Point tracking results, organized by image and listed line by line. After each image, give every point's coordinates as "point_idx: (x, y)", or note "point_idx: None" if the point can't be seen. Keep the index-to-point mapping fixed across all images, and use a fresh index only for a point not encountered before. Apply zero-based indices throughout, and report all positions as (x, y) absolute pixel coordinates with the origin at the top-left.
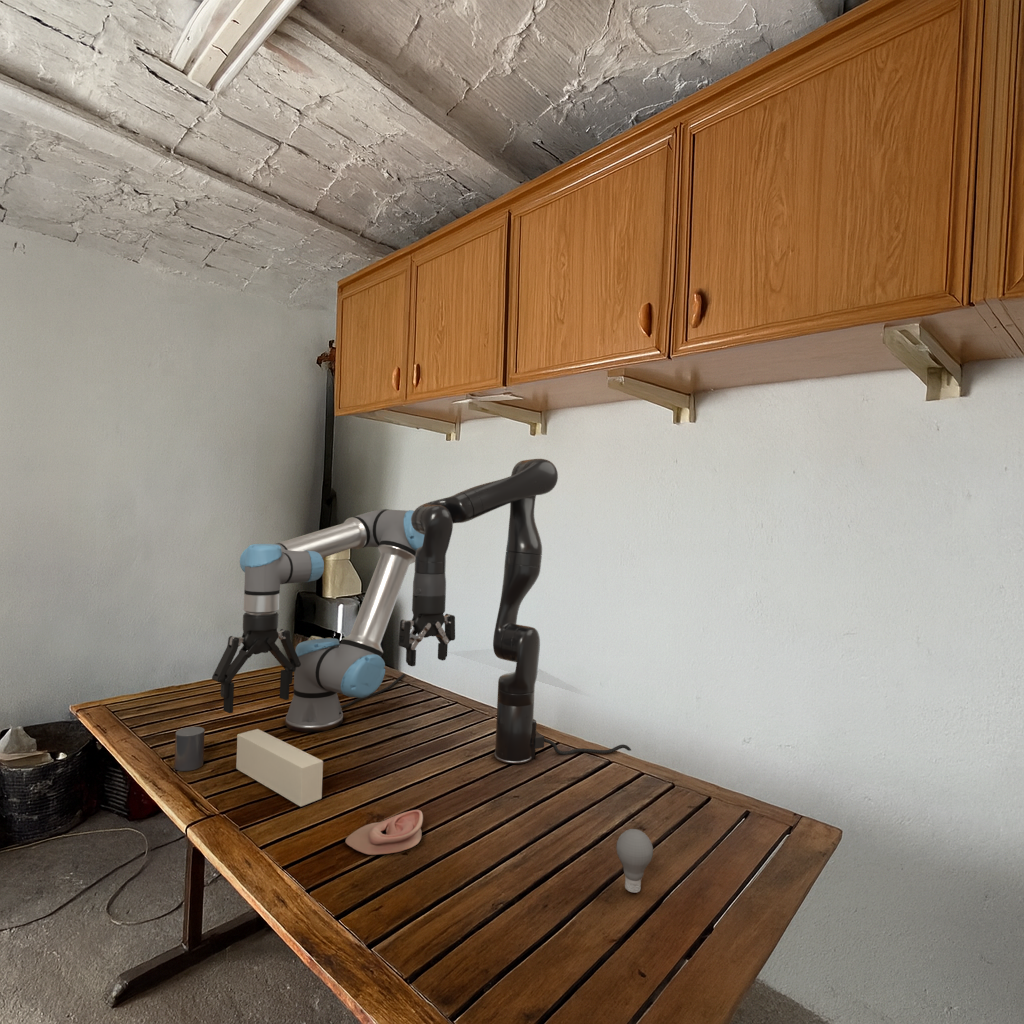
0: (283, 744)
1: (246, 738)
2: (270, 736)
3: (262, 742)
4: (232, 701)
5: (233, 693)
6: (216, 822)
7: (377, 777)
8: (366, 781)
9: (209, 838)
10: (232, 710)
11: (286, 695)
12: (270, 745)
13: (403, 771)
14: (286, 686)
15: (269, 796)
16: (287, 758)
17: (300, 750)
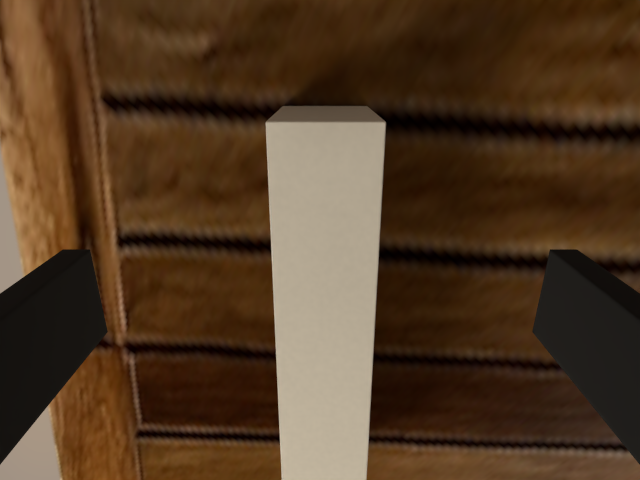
0: (353, 370)
1: (273, 208)
2: (368, 260)
3: (302, 298)
4: (53, 389)
5: (13, 446)
6: (102, 377)
7: (534, 444)
8: (497, 443)
9: (69, 424)
10: (95, 341)
11: (553, 353)
12: (310, 345)
13: (605, 461)
14: (596, 410)
15: (264, 352)
16: (290, 470)
17: (364, 448)
